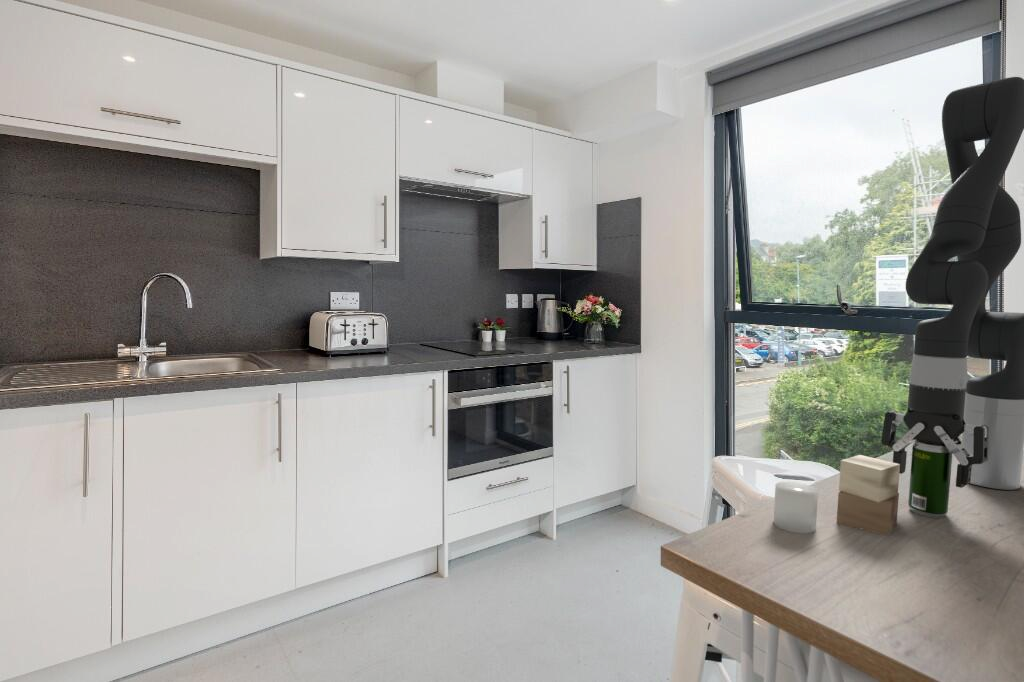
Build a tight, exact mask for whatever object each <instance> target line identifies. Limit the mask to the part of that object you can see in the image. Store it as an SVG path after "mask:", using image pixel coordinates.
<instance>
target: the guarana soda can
mask: <svg viewBox="0 0 1024 682" xmlns="http://www.w3.org/2000/svg"><path fill="white" fill-rule="evenodd" d="M950 445H951V444H950ZM910 460H911V463H910V475H909V476H910V477H909V489H908V504H907V505H908V508H909V510H910V511H911V512H912V513H914V514H916V515H919V516H922V517H926V518H933V519H940V518H941V519H942V518H944V517H945V516H946V515H947V513H948V511H949V500H950V499H949V497H950V490H951V489H950V486H951V474H952V462H953V453H951V452H950V451H949V449H948V448H947V447H946V445H945V446H940V445H935V444H931V443H924V442H919V441H918V440H916V439H915V441H914V443H913V444H912V449H911V459H910Z"/></svg>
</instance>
